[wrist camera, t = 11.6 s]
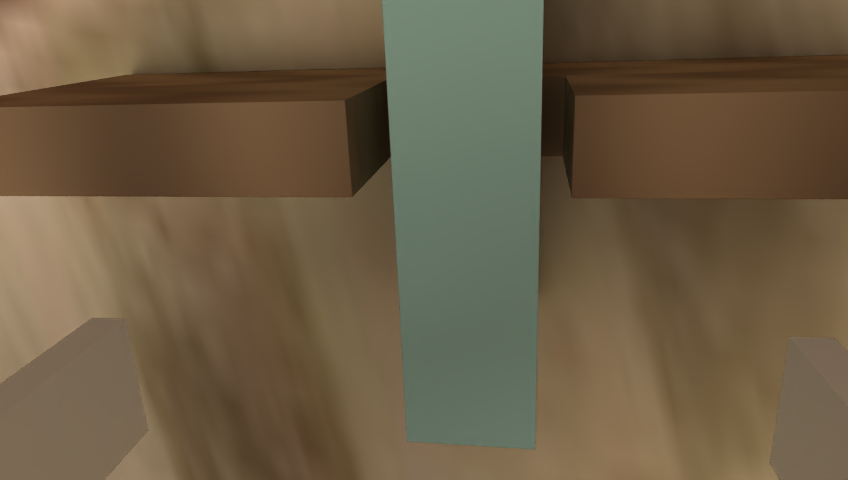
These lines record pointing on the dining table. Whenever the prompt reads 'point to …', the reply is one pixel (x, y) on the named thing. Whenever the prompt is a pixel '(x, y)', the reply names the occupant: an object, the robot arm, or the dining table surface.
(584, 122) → the walnut board
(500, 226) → the teal green block
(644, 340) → the dining table surface
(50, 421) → the robot arm
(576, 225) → the dining table surface
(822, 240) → the dining table surface
